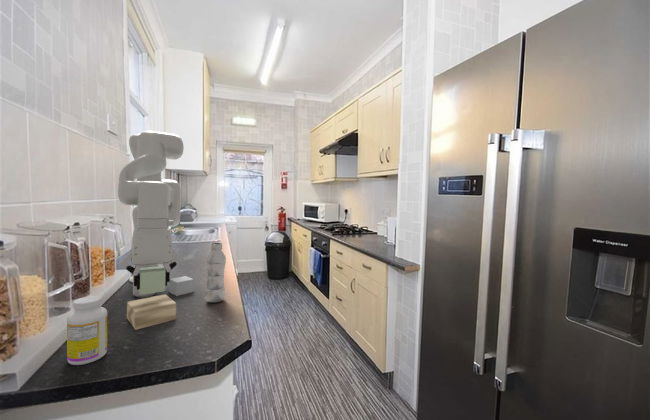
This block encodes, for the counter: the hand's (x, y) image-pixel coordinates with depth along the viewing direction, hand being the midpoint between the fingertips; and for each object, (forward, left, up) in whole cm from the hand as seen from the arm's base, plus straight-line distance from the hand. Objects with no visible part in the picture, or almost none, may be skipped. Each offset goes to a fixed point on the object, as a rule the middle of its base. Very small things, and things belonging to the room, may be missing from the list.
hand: (152, 285), depth 80 cm
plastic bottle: (-4, +19, -10) cm, 22 cm away
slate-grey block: (-20, +11, -10) cm, 25 cm away
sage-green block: (0, 0, -1) cm, 1 cm away
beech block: (0, 0, -10) cm, 10 cm away
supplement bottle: (+16, -13, -10) cm, 22 cm away
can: (-23, 0, -10) cm, 25 cm away
